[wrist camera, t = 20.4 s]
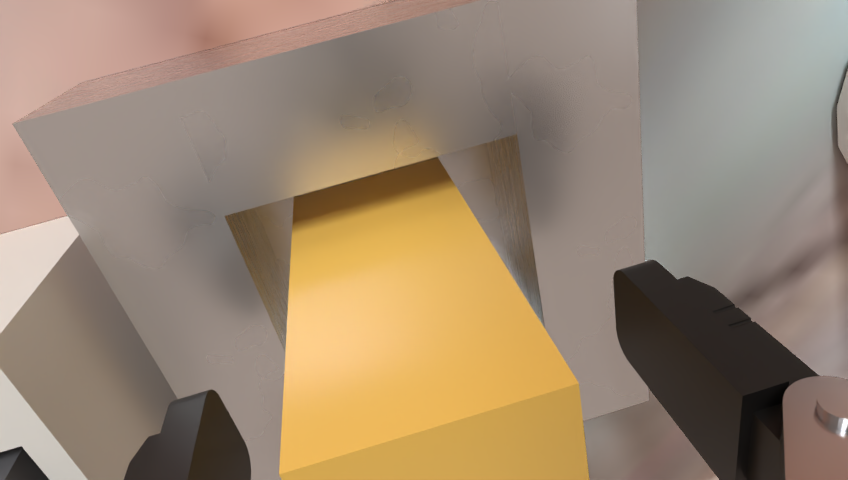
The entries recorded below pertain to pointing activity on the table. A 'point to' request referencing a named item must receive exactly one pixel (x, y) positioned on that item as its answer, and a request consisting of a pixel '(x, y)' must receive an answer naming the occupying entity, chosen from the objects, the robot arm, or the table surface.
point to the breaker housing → (71, 360)
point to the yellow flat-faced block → (416, 345)
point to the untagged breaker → (19, 466)
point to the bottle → (843, 119)
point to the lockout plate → (357, 176)
